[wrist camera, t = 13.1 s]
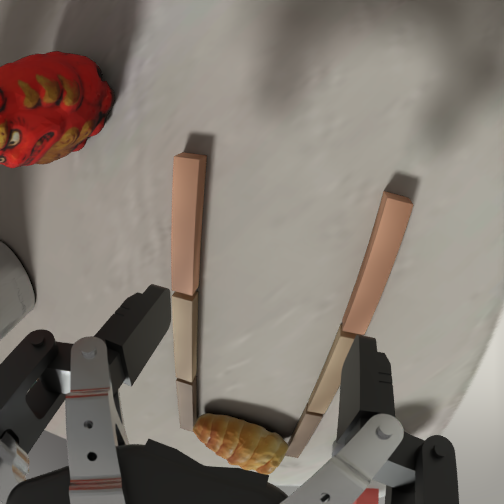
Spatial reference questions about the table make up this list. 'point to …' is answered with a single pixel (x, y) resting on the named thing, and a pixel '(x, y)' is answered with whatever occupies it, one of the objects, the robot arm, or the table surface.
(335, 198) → the table surface
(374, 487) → the dome button
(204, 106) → the table surface
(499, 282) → the table surface
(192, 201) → the track
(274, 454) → the pastry
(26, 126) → the red clay folk toy
